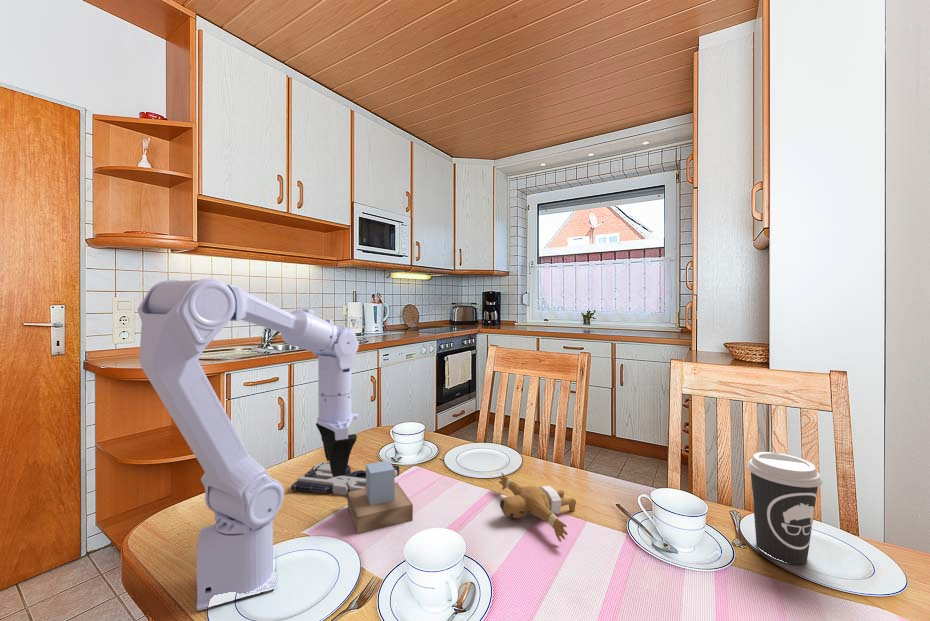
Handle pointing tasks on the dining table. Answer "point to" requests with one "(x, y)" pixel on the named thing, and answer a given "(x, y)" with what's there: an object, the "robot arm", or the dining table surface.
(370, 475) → the slate block
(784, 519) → the coffee cup
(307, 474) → the toy gun
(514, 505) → the toy
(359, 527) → the walnut base
